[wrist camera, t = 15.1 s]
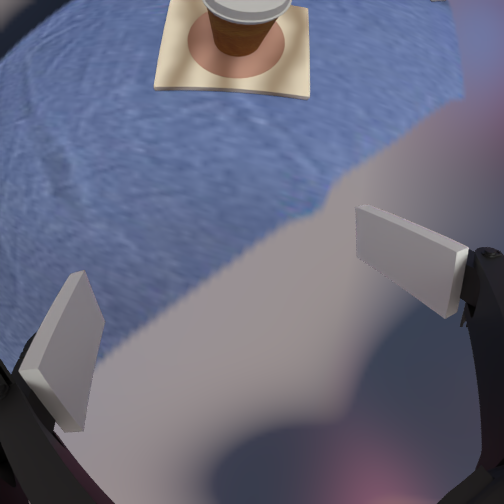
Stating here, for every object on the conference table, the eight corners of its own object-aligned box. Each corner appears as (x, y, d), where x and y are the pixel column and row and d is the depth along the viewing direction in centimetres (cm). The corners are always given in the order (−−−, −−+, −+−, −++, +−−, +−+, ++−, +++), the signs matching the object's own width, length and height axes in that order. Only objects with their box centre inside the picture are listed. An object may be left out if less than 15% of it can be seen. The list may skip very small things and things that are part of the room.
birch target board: (155, 90, 34) (153, 86, 33) (172, 1, 32) (171, -4, 31) (307, 100, 37) (310, 96, 35) (305, 12, 35) (308, 7, 33)
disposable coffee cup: (189, 54, 33) (183, 0, 21) (218, 6, 32) (223, -49, 20) (258, 77, 34) (277, 28, 23) (282, 27, 34) (305, -24, 22)
